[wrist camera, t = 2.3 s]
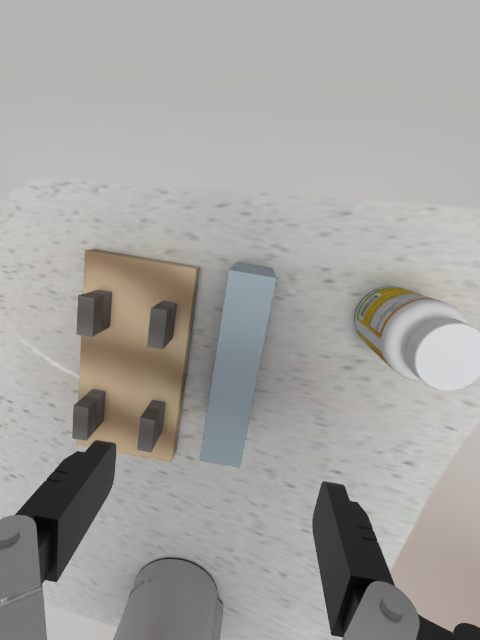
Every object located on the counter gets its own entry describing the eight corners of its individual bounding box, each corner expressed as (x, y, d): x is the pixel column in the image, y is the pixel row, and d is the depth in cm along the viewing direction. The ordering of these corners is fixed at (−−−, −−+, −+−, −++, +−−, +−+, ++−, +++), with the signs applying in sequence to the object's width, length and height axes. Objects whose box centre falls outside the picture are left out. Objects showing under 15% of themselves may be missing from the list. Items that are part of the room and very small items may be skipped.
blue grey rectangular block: (244, 417, 31) (239, 467, 24) (212, 411, 31) (199, 460, 24) (272, 268, 27) (276, 277, 20) (236, 262, 27) (228, 270, 20)
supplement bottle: (420, 343, 28) (502, 397, 18) (355, 351, 28) (403, 407, 19) (418, 281, 27) (506, 304, 17) (351, 290, 27) (400, 317, 18)
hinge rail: (175, 451, 32) (162, 485, 27) (85, 435, 32) (57, 466, 27) (199, 267, 27) (188, 272, 23) (94, 249, 27) (63, 251, 23)
